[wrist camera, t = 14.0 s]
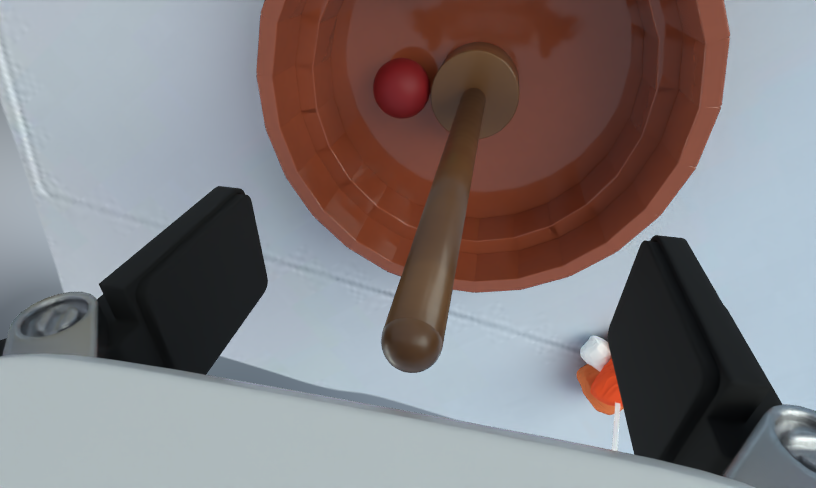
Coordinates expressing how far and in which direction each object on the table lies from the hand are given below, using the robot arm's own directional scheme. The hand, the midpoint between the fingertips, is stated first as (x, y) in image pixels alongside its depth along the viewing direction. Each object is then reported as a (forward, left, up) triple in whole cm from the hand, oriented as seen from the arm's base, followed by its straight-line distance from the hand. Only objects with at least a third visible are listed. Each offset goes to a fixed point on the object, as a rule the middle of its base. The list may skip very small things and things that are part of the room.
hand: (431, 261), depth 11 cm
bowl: (0, 0, -17) cm, 17 cm away
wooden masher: (0, 0, -16) cm, 16 cm away
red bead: (0, -4, -15) cm, 15 cm away
